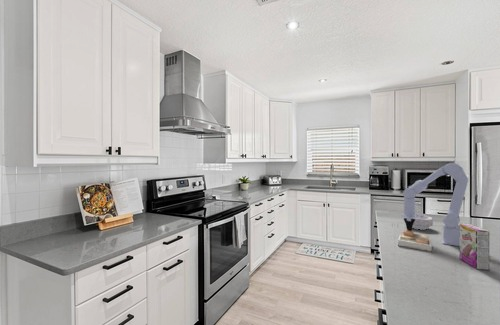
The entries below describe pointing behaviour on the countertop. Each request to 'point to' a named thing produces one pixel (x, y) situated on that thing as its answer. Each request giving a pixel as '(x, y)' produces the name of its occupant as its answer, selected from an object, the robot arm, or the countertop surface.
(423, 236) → the oak board
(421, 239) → the terracotta tile
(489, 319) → the countertop surface
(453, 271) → the countertop surface
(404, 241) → the bin
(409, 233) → the terracotta tile
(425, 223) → the white purple patterned bowl
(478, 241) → the candy bar box
